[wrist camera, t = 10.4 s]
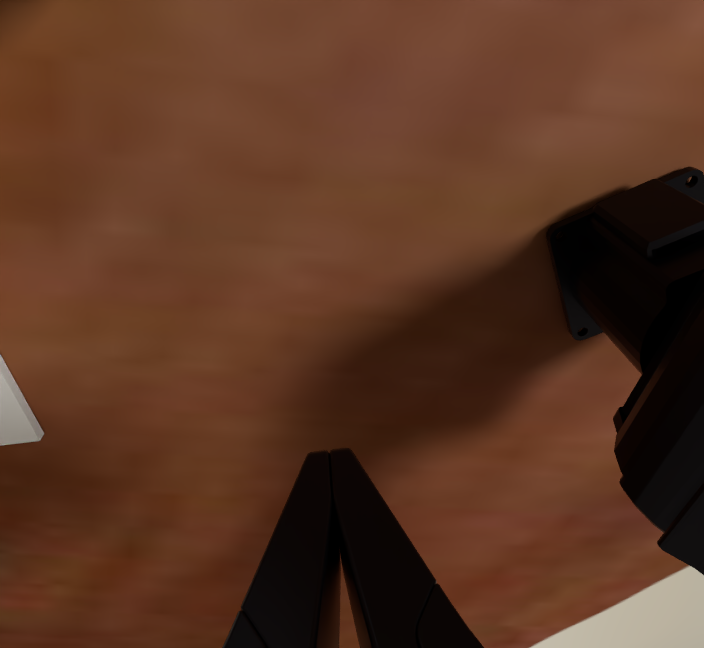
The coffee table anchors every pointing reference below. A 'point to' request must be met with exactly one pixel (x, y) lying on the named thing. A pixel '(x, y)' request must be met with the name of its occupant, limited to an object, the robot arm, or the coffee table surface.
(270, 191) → the coffee table surface
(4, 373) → the grey mat
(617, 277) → the robot arm
